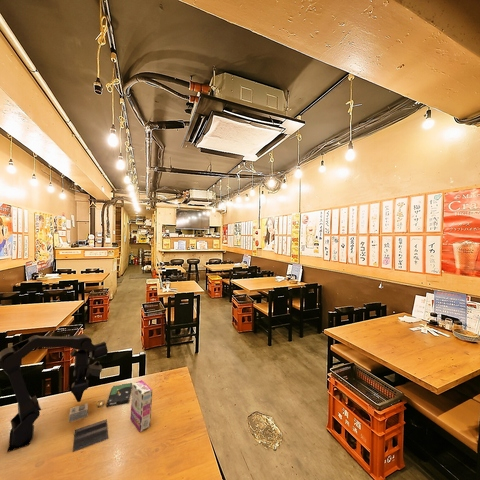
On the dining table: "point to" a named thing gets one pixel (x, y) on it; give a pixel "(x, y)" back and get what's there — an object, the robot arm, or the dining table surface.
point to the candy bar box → (141, 405)
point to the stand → (90, 435)
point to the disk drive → (119, 395)
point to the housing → (78, 412)
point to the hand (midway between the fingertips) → (79, 396)
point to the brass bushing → (100, 403)
